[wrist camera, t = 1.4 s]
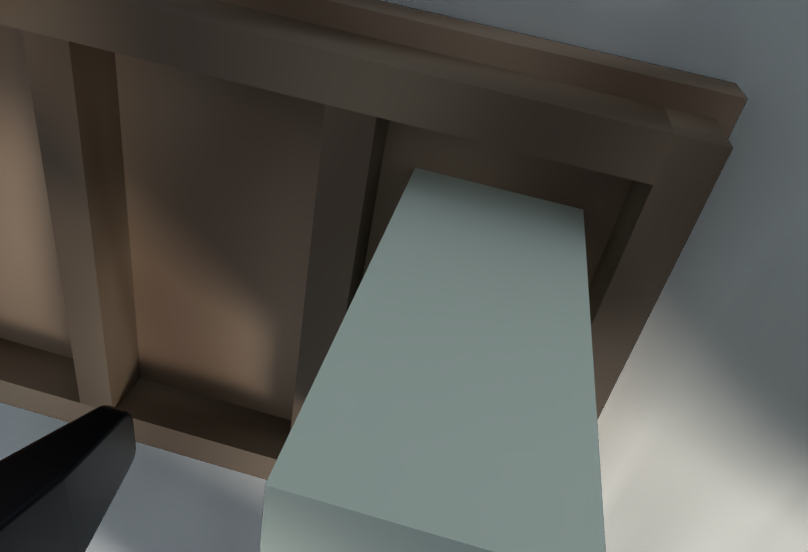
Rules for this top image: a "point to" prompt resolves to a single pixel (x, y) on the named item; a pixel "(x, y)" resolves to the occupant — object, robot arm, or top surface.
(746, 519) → the top surface
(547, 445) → the block
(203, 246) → the rack
